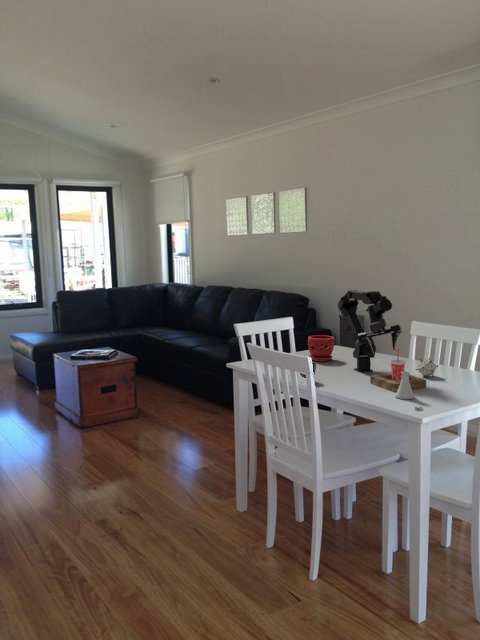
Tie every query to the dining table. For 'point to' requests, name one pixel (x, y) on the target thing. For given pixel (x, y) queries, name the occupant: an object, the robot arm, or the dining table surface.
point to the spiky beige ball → (426, 367)
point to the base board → (393, 386)
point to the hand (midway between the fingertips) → (383, 352)
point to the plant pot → (321, 347)
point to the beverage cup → (397, 368)
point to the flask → (405, 387)
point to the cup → (313, 370)
